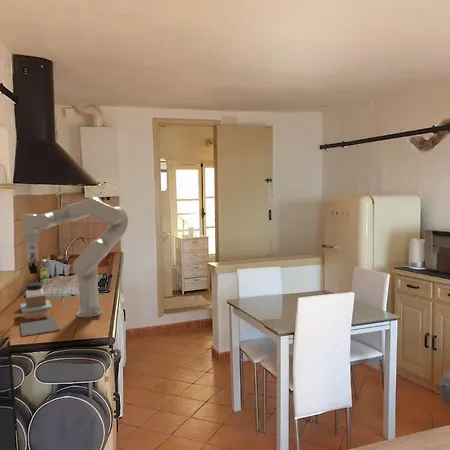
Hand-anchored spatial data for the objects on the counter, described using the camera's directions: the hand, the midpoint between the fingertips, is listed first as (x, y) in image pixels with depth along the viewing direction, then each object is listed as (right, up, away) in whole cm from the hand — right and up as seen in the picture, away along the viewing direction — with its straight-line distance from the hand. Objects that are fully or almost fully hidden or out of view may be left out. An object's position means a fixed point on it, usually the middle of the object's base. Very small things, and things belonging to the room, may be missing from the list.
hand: (33, 271), depth 230 cm
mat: (+9, -25, -15) cm, 31 cm away
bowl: (+1, -23, +3) cm, 24 cm away
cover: (+1, -18, +2) cm, 19 cm away
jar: (-8, -21, +23) cm, 32 cm away
